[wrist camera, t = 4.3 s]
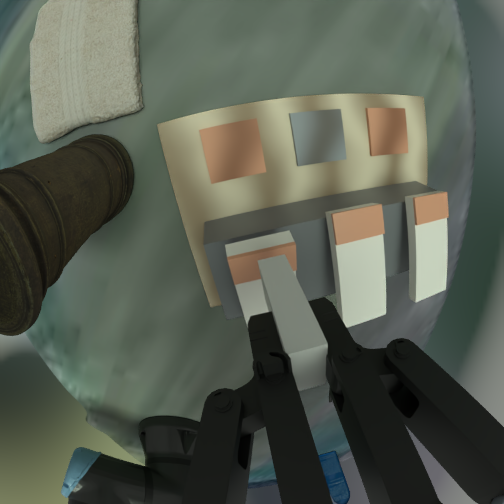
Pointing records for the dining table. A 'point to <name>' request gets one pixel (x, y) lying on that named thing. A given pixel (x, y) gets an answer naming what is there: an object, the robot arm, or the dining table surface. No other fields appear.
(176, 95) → the dining table surface
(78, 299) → the dining table surface
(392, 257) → the switch housing
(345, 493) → the blue food package
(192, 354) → the dining table surface
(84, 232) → the container
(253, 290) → the switch
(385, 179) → the switch board
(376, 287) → the switch middle
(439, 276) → the switch
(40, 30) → the washcloth
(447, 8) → the dining table surface
